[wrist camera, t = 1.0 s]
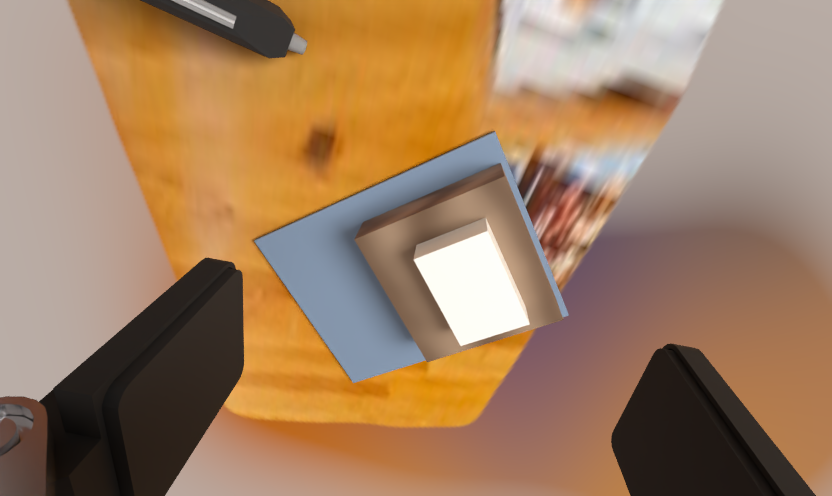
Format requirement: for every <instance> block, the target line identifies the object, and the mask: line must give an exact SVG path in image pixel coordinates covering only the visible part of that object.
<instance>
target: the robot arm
mask: <svg viewBox="0 0 832 496" xmlns="http://www.w3.org/2000/svg"><path fill="white" fill-rule="evenodd" d="M243 367H244V334H243V277H242V272H241V271H240V270H236V268H235V265H234V263H232V262H228V261H222V260H217V259H212V258H205V259H203V260H202V261H200V262H199V263H198V264H197V265H196V266H195V267H193V268H192V269H191V270H190V271H189V272H188V273H186V274H185V275H184V276H183V277H182V278H181V279H180V280H178V281H177V282H176V283H175V284H174V285H173V286H171V287H170V288H169V289H168V290H167V291H166V292H164V293H163V294H162V295H161V296H160V297H159V298H157V299H156V300H155V301H154V302H153V303H152V304H151V305H150V306H148V307H147V308H146V309H145V310H144V311H143V312H141V313H140V314H139V315H138V316H137V317H135V318H134V319H133V320H132V321H131V322H130V323H128V324H127V325H126V326H125V327H124V328H123V329H122V330H120V331H119V332H118V333H117V334H116V335H115V336H114V337H112V338H111V339H110V340H109V341H108V342H107V343H105V344H104V345H103V346H102V347H101V348H99V349H98V350H97V351H96V352H95V353H94V354H93V355H91V356H90V357H89V358H88V359H87V360H86V361H84V362H83V363H82V364H81V365H80V366H79V367H77V368H76V369H75V370H74V371H73V372H72V373H70V374H69V375H68V376H67V377H66V378H65V379H64V380H63V381H61V382H60V383H59V384H58V385H57V386H55V387H54V388H53V390H52V391H51V392H50V393H49V394H48V395H46V396H45V397H44V398H43V399H42V400H40V401H39V402H38V401H37V400H34V399H30V398H27V397H9V396H8V397H1V398H0V496H165V495H166V493H167V491H168V490H169V488H170V487H171V485H172V484H173V482H174V480H175V479H176V477H177V476H178V474H179V473H180V471H181V470H182V468H183V466H184V465H185V463H186V462H187V460H188V459H189V457H190V455H191V454H192V452H193V451H194V449H195V448H196V446H197V445H198V443H199V441H200V440H201V438H202V437H203V435H204V434H205V432H206V430H207V429H208V427H209V426H210V424H211V423H212V421H213V419H214V418H215V416H216V415H217V413H218V412H219V409H221V407H222V405H223V404H224V402H225V401H226V399H227V398H228V396H229V395H230V393H231V391H232V390H233V388H234V387H235V385H236V384H237V382H238V380H239V379H240V377H241V374H242V371H243ZM611 443H612V448H613V451H614V454H615V456H616V459H617V462H618V464H619V467H620V469H621V472H622V474H623V477H624V480H625V482H626V485H627V488H628V490H629V493H630V495H631V496H816V495H815V494H814V493H813V491H812V490H811V489H810V488H809V487H808V485H807V484H806V483H805V481H804V480H803V479H802V478H801V476H800V475H799V474H798V473H797V472H796V470H795V469H794V468H793V466H792V465H791V464H790V463H789V461H788V460H787V459H786V458H785V457H784V455H783V454H782V452H781V451H780V450H779V449H778V447H776V445H775V444H774V443H773V441H772V440H771V439H770V438H769V436H768V435H767V434H766V433H765V431H764V430H763V429H762V427H761V426H760V425H759V424H758V422H757V421H756V420H755V419H754V417H753V416H752V415H751V414H750V412H749V411H748V410H747V408H746V407H745V406H744V405H743V403H742V402H741V401H740V400H739V398H738V397H737V396H736V395H735V393H734V392H733V391H732V390H731V389H730V387H729V386H728V385H727V383H726V382H725V381H724V380H723V378H722V377H721V376H720V375H719V373H718V372H717V371H716V370H715V368H714V367H713V366H712V365H711V363H710V362H709V361H708V359H707V358H706V357H705V356H704V354H703V353H702V352H701V351H700V350H699V349H696V348H692V347H686V346H681V345H676V344H667V345H666V346H664V347H663V348H662V349H657V350H656V351H655V353H654V354H653V356H652V358H651V360H650V362H649V364H648V366H647V367H646V369H645V371H644V373H643V375H642V377H641V379H640V381H639V383H638V385H637V387H636V389H635V390H634V392H633V394H632V396H631V398H630V400H629V402H628V404H627V406H626V408H625V410H624V412H623V414H622V416H621V417H620V419H619V421H618V423H617V425H616V427H615V429H614V431H613V433H612V441H611Z"/></svg>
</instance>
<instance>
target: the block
mask: <svg viewBox="0 0 832 496" xmlns="http://www.w3.org/2000/svg"><path fill="white" fill-rule="evenodd" d="M483 218H486V219H487V222H488V224H489V226H490V228H491V230H492V233H493V235H494V237H495V239H496V242H497V244H498V246H499V248H500V251H501V253H502V255H503V257H504V260H505V262H506V264H507V266H508V269H509V271H510V273H511V275H512V278H513V280H514V282H515V284H516V286H517V289H518V291H519V293H520V295H521V298H522V300H523V302H524V304H525V307H526V311H527V315H528V319H529V325H526V326H523V327H520V328H517V329H513V330H510V331H507V332H504V333H501V334H498V335H495V336H491V337H488V338H485V339H482V340H479V341H476V342H472V343H469V344H466V345H463V346H460V344H459V342H458V340H457V339H456V337H455V335H454V333H453V331H452V329H451V328H450V326H449V324H448V322H447V320H446V318H445V317H444V315H443V313H442V311H441V309H440V307H439V306H438V304H437V302H436V300H435V298H434V296H433V294H432V293H431V291H430V289H429V287H428V285H427V283H426V282H425V280H424V278H423V276H422V274H421V272H420V271H419V269H418V267H417V265H416V263H415V261H414V255H415V250H416V245H418V244H420V243H423V242H425V241H428V240H430V239H433V238H435V237H438V236H440V235H443V234H445V233H448V232H450V231H453V230H455V229H458V228H461V227H463V226H466V225H468V224H471V223H473V222H476V221H478V220H481V219H483ZM354 240H355V242H356V243H357V245H358V247H359V248H360V250H361V252H362V254H363V255H364V257H365V259H366V260H367V262H368V264H369V265H370V267H371V269H372V270H373V272H374V274H375V275H376V277H377V279H378V280H379V282H380V284H381V285H382V287H383V289H384V291H385V292H386V294H387V296H388V297H389V299H390V301H391V302H392V304H393V306H394V307H395V309H396V311H397V312H398V314H399V316H400V317H401V319H402V321H403V322H404V324H405V326H406V328H407V329H408V331H409V333H410V334H411V336H412V338H413V339H414V341H415V343H416V344H417V346H418V348H419V349H420V351H421V353H422V354H423V356H424V358H425V359H426V361H427V362H430V361H433V360H436V359H439V358H442V357H446V356H449V355H452V354H455V353H458V352H462V351H465V350H468V349H471V348H474V347H478V346H481V345H484V344H487V343H490V342H494V341H497V340H500V339H503V338H506V337H510V336H513V335H516V334H519V333H522V332H526V331H529V330H532V329H535V328H538V327H542V326H545V325H548V324H551V323H554V322H558V321H561V320H563V317H562V314H561V311H560V308H559V306H558V303H557V300H556V297H555V295H554V292H553V290H552V287H551V285H550V282H549V280H548V277H547V275H546V273H545V270H544V268H543V265H542V263H541V260H540V258H539V255H538V253H537V251H536V248H535V246H534V243H533V241H532V238H531V236H530V233H529V231H528V229H527V226H526V224H525V221H524V219H523V216H522V214H521V211H520V209H519V206H518V204H517V202H516V199H515V197H514V194H513V192H512V189H511V187H510V184H509V182H508V180H507V177H506V175H505V172H504V170H503V167H502V165H501V163H499V164H497V165H494V166H492V167H490V168H487V169H485V170H483V171H480V172H478V173H476V174H473V175H471V176H469V177H466V178H464V179H462V180H459V181H457V182H455V183H453V184H450V185H448V186H446V187H443V188H441V189H439V190H436V191H434V192H432V193H429V194H427V195H425V196H422V197H420V198H418V199H415V200H413V201H411V202H408V203H406V204H404V205H401V206H399V207H397V208H394V209H392V210H390V211H388V212H385V213H383V214H381V215H378V216H376V217H374V218H371V219H369V220H367V221H364V222H363V223H362V225H361V227H360V229H359V231H358V233H357V235H356V237H355V239H354Z"/></svg>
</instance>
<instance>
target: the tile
mask: <svg viewBox="0 0 832 496" xmlns="http://www.w3.org/2000/svg"><path fill="white" fill-rule="evenodd" d="M414 261H415V263H416V265H417V267H418V269H419V271H420V272H421V274H422V276H423V278H424V280H425V282H426V283H427V285H428V287H429V289H430V291H431V293H432V294H433V296H434V298H435V300H436V302H437V304H438V306H439V307H440V309H441V311H442V313H443V315H444V317H445V318H446V320H447V322H448V324H449V326H450V328H451V329H452V331H453V333H454V335H455V337H456V339H457V340H458V342H459V344H460V346H463V345H466V344H469V343H472V342H476V341H479V340H482V339H485V338H488V337H491V336H495V335H498V334H501V333H504V332H507V331H510V330H513V329H517V328H520V327H523V326H526V325H529V319H528V315H527V311H526V307H525V304H524V302H523V300H522V298H521V295H520V293H519V291H518V289H517V286H516V284H515V282H514V280H513V278H512V275H511V273H510V271H509V269H508V266H507V264H506V262H505V260H504V257H503V255H502V253H501V251H500V248H499V246H498V244H497V242H496V239H495V237H494V235H493V233H492V230H491V228H490V226H489V224H488V222H487V219H486V218H483V219H481V220H478V221H476V222H473V223H471V224H468V225H466V226H463V227H461V228H458V229H455V230H453V231H450V232H448V233H445V234H443V235H440V236H438V237H435V238H433V239H430V240H428V241H425V242H423V243H420V244H418V245H416V250H415V255H414Z"/></svg>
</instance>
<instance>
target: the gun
mask: <svg viewBox="0 0 832 496" xmlns="http://www.w3.org/2000/svg"><path fill="white" fill-rule="evenodd" d="M141 1H143V2H146V3H148V4H150V5H152V6H154V7H157V8H159V9H161V10H163V11H166V12H168V13H170V14H172V15H174V16H177V17H179V18H181V19H183V20H186V21H188V22H190V23H192V24H194V25H197V26H199V27H201V28H203V29H206V30H208V31H210V32H212V33H214V34H217V35H219V36H221V37H223V38H226V39H228V40H230V41H232V42H234V43H237V44H239V45H241V46H243V47H246V48H248V49H250V50H252V51H254V52H257V53H259V54H261V55H263V56H266V57H268V58H279V57H285V56H286V53H287V50H290V51H293V52H296V53H299V54H302V55H303V53H304V52H305V49H306V46H307V41H306V40H304V39H303V38H301V37H300V36H298V35H297V34H295V33H294V31H295V29H294V26H293V24H292V22H291V20H290V19H289V18H288V17H287V16H286V14H285V13H284V12H283V11H282V10H281V8H280V7H279V6H277V5H275V4H273V3H271V2H269V1H267V0H141Z"/></svg>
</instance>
